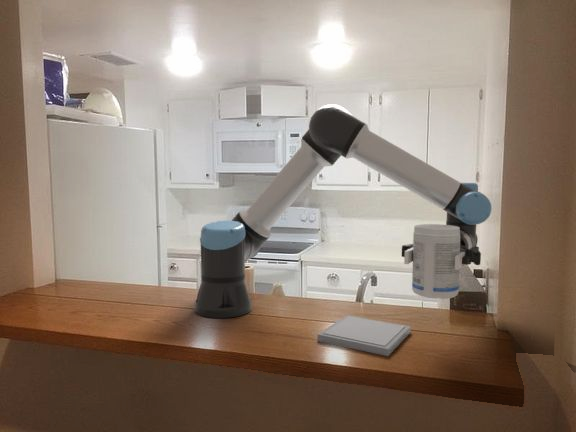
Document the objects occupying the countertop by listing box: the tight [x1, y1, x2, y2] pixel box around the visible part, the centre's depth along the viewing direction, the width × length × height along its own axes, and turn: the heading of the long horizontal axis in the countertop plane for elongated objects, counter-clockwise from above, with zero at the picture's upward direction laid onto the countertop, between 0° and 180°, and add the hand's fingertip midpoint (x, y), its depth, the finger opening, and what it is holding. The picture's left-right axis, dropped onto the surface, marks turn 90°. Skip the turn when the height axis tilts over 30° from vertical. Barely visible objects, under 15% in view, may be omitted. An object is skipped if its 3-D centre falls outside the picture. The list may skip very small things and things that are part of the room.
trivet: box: [316, 314, 411, 357], centre depth 102 cm, size 16×16×2 cm
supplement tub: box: [411, 223, 460, 300], centre depth 97 cm, size 10×10×15 cm
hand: (430, 260), depth 93 cm, fingers closed on supplement tub, 9 cm apart
